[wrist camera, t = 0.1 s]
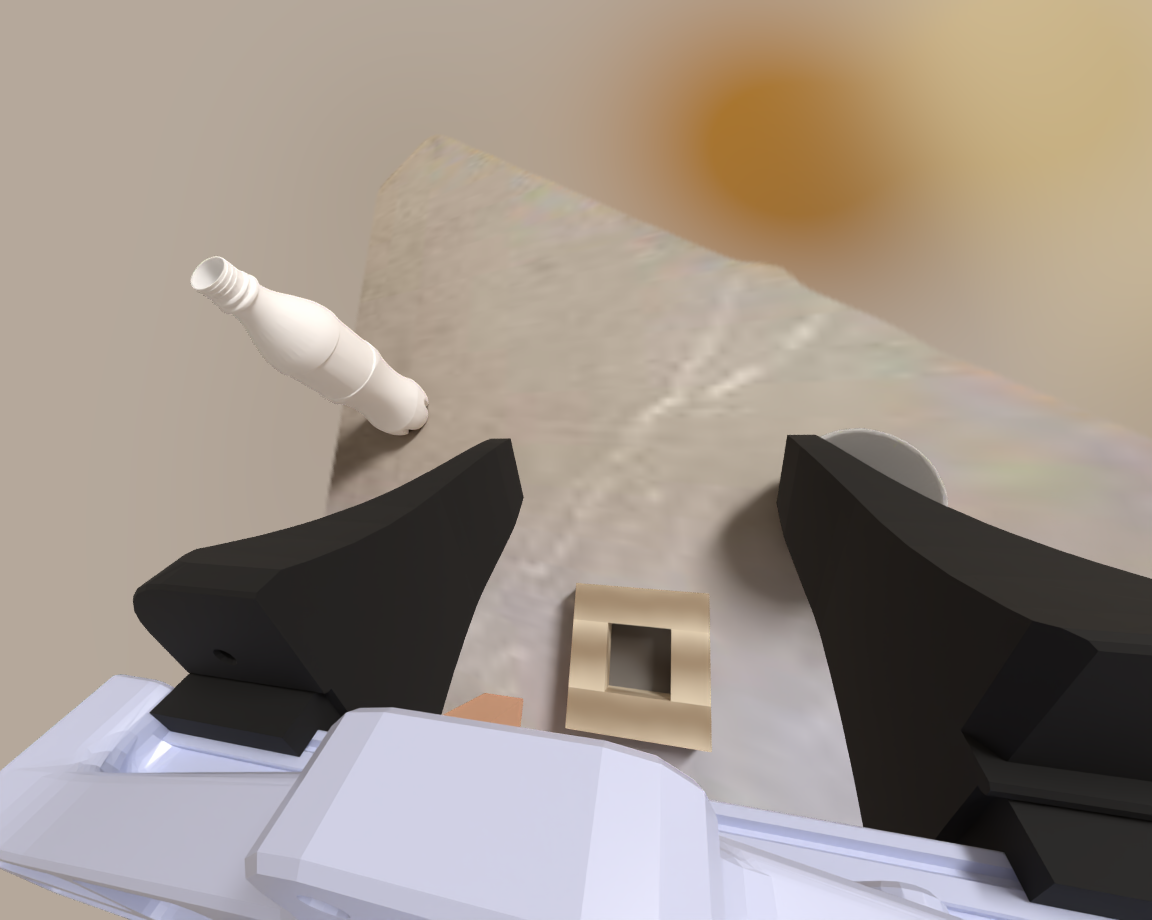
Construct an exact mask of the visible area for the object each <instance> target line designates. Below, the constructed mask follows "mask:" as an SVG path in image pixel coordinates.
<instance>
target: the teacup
mask: <svg viewBox="0 0 1152 920" xmlns="http://www.w3.org/2000/svg"><path fill="white" fill-rule="evenodd" d="M821 438H823V439H825V440H827V441H828V442H830V443H832V444H833V445H835V446H837V447H839V448H840V449H842V450H844V451H845V452H847V453H849V454H850V455H852V456H854V457H855V458H857V459H859V460H860V461H862V462H864V463H865V464H867V465H869V466H870V467H872V468H874V469H875V470H877V471H879V472H881V473H883V474H884V475H886V476H888V477H890V478H891V479H893V480H895V481H897V482H899V483H901V484H903V485H904V486H906V487H908V488H910V489H912V490H914V491H916V492H918V493H920V494H922V495H924V496H926V497H928V498H930V499H932V500H934V501H936V502H938V503H940V504H943V505H945V506H947V507H948V500H947V493H946V490H945V486H944V484H943V481H942V479H941V477H940V476H939V474H938V472H937V470H936V468H935V467H934V466H933V464H932V463H931V462H930V461H929V460H928V459H927V458H926V457H925V456H924V455H923V454H922V453H921V452H920V451H919V450H918V449H916V448H915V447H913V446H912V445H910V444H909V443H907V442H906V441H904V440H902V439H900V438H898V437H895V436H893V435H891V434H888V433H885V432H881V431H877V430H871V429H864V428H855V429H844V430H839V431H834V432H831V433H828V434H825V435H823V436H821Z"/></svg>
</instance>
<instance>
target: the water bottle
mask: <svg viewBox="0 0 1152 920" xmlns="http://www.w3.org/2000/svg"><path fill="white" fill-rule="evenodd" d="M191 285H192V287H193V288H194V289H196V290H197V291H198V292H199V293H201V294H203V295H204V296H206V297H207V298H208V299H210V300H212V301H213V303H214V304H215V305H216V306H218V308H219V309H220V310H221V311H222V312H224V313H226V314H233V316H235V317H236V318H237V319H238V320H239V321H240V323H241V324H242V325H243V326H244V328H245V329H246V331H247V333H248V335H249V336H250V338H251V340H252V342H253V343H254V345H255V346H256V348H257V349H258V351H259V353H260V354H261V355H262V357H263V358H264V359H265V360H266V361H267V362H268V363H269V364H270V365H271V366H272V367H273V368H274V369H276V370H277V371H279V372H280V373H282V374H284V375H288V376H290V377H292V378H293V379H295V380H297V381H299V382H301V383H302V384H304V385H305V386H307V387H309V388H311V389H313V390H314V391H316V392H318V393H319V394H320V395H321V396H322V397H323V398H325V399H327V400H329V401H330V402H332V403H335V404H342V405H346V406H349V407H352V408H354V409H355V410H357V411H358V412H360V413H361V414H362V415H364V416H365V417H366V418H367V420H368V421H369V422H370V423H371V424H372V425H373V426H374V427H376V428H377V429H379V430H381V431H383V432H386V433H389V434H393V435H406V434H408V433H409V429H411V430H416V429H419V428H420V427H422V426H423V425H424V424H425V423H426V421H427V417H428V411H427V408H426V406H428V405H429V404H428V398H427V396H426V394H425V392H424V391H423V389H422V388H421V387H420V386H419V385H418V384H417V383H416V382H415V381H414V380H412V379H410V378H406V377H404V376H402V375H400V374H399V373H397V372H396V371H394V370H393V369H392V368H391V367H390V366H389V365H388V364H387V363H386V362H385V360H384V359H383V358H382V356H381V355H380V354H379V352H378V351H377V349H376V348H374V347H373V346H372V345H371V344H370V343H368V342H367V341H365V340H363V339H362V338H361V337H359V336H358V335H357V334H356V333H355V332H353V331H352V330H351V329H350V328H349V327H347V326H346V325H345V324H344V323H342V322H341V321H340V320H339V319H338V318H337V317H336V315H335V314H334V313H333V312H331V311H330V310H329V309H327V308H326V307H324V306H322V305H320V304H318V303H316V302H314V301H311V300H308V299H304V298H300V297H296V296H293V295H288V294H284V293H278V292H275V291H272V290H269V289H267V288H265V287H263V286H261V285H259V283H258V281H257V279H256V278H255V277H253V276H252V275H249V274H246V273H245V272H243V271H240V270H238V269H237V268H236V267H234V266H233V265H232V264H231V263H229V262H227V261H226V260H225V259H224V258H222V257H219V256H216V257H211V258H208V259H206V260H205V261H203V262H202V263H201V264H199V266H198V267H197V268H196V269H195V271H194V273H193V274H192V277H191Z"/></svg>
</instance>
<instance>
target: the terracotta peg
mask: <svg viewBox="0 0 1152 920" xmlns="http://www.w3.org/2000/svg"><path fill="white" fill-rule="evenodd" d="M522 706H523V699H521V698H514V697H508V696H501V695H494V694H488V693H484V694H482V695H480V696H478V697H476V698H474V699H473V700H471V701H469V702H467V703H465V704H463V705H461V706H459V707H457V708H455V709H453V710H451V711H450V712H448V713H446V714H444V715H445V716H451V717H458V718H464V719H471V720H477V721H483V722H490V723H496V724H503V725H509V726H515V727H520V726H521V716H522Z"/></svg>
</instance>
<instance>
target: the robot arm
mask: <svg viewBox="0 0 1152 920" xmlns="http://www.w3.org/2000/svg"><path fill="white" fill-rule="evenodd" d="M523 498H524V497H523V493H522V488H521V484H520V479H519V475H518V470H517V466H516V461H515V457H514V452H513V448H512V443H511V439H489V440H486V441H484V442H482V443H480V444H478V445H476V446H474V447H472V448H470V449H468V450H467V451H465V452H463V453H461V454H459V455H458V456H456V457H454V458H452V459H451V460H449V461H447V462H445V463H444V464H442V465H440V466H438V467H437V468H435V469H433V470H431V471H429V472H427V473H425V474H423V475H422V476H420V477H418V478H416V479H414V480H412V481H410V482H408V483H406V484H404V485H402V486H400V487H398V488H396V489H394V490H392V491H390V492H388V493H385V494H383V495H381V496H379V497H376V498H374V499H371V500H369V501H367V502H364V503H362V504H359V505H357V506H354V507H351V508H348V509H346V510H343V511H340V512H337V513H334V514H331V515H329V516H326V517H323V518H320V519H317V520H314V521H311V522H307V523H304V524H301V525H297V526H294V527H290V528H287V529H283V530H279V531H276V532H272V533H268V534H264V535H260V536H256V537H252V538H247V539H242V540H238V541H233V542H229V543H224V544H220V545H215V546H210V547H205V548H200V549H196V550H193V551H191V552H189V553H187V554H185V555H184V556H182V557H181V558H179V559H178V560H177V561H175V562H174V563H172V564H171V565H170V566H168V567H167V568H165V569H164V570H163V571H161V572H160V573H158V574H157V575H156V576H154V577H153V578H151V579H150V580H149V581H147V582H146V583H144V584H143V585H142V586H141V587H139V588H138V589H137V590H136V592H135V594H134V596H133V605H134V611H135V613H136V615H137V617H138V618H139V620H140V622H141V623H142V624H143V625H144V627H145V628H146V629H147V630H148V631H149V633H150V634H151V635H152V636H153V637H154V638H155V639H156V640H157V641H158V642H159V643H160V644H161V645H162V646H163V647H164V648H165V649H166V650H167V651H168V652H169V653H170V654H171V655H172V656H173V657H174V658H175V659H176V660H177V661H178V662H179V663H180V664H181V666H182V667H184V669H185V670H187V672H189V673H190V674H189V675H188V676H186V678H184V679H183V680H182V681H181V683H179V684H178V685H177V686H176V687H175V688H174V687H172V686H170V685H168V684H166V683H164V682H162V681H158V680H154V679H148V678H141V677H135V676H129V675H122V674H120V675H114V676H112V677H111V678H110V679H109V680H108V681H107V682H105V683H104V684H103V685H102V686H101V687H99V688H98V689H97V690H96V691H95V692H94V693H92V694H91V695H90V696H89V697H88V698H86V699H85V700H84V701H83V702H82V703H80V704H79V705H78V706H77V707H76V708H74V709H73V710H72V711H71V712H70V713H68V714H67V715H66V716H65V717H64V718H63V719H61V720H60V721H59V722H58V723H57V724H55V725H54V726H53V727H52V728H51V729H49V730H48V731H47V732H46V733H45V734H43V735H42V736H41V737H40V738H39V739H37V740H36V741H35V742H34V743H33V744H32V745H30V746H29V747H28V748H27V749H26V750H24V751H23V752H22V753H21V754H20V755H18V756H17V757H16V758H15V759H14V760H13V761H11V762H10V763H9V764H8V765H7V766H6V767H4V768H3V769H2V770H1V771H0V869H2V870H4V871H7V872H9V873H11V874H13V875H16V876H18V877H20V878H22V879H25V880H27V881H29V882H31V883H34V884H36V885H38V886H40V887H43V888H45V889H47V890H49V891H52V892H54V893H56V894H59V895H62V896H65V897H68V898H71V899H73V900H77V901H79V902H82V903H85V904H88V905H91V906H93V907H96V908H99V909H102V910H104V911H107V912H110V913H113V914H115V915H118V916H121V917H124V918H127V919H129V920H1152V579H1150V578H1147V577H1143V576H1140V575H1137V574H1133V573H1130V572H1127V571H1123V570H1120V569H1117V568H1113V567H1110V566H1106V565H1103V564H1100V563H1096V562H1093V561H1090V560H1087V559H1084V558H1081V557H1078V556H1075V555H1072V554H1069V553H1066V552H1063V551H1060V550H1057V549H1054V548H1051V547H1048V546H1045V545H1043V544H1040V543H1037V542H1034V541H1032V540H1029V539H1026V538H1023V537H1020V536H1018V535H1015V534H1012V533H1009V532H1007V531H1004V530H1002V529H999V528H997V527H994V526H991V525H989V524H986V523H984V522H982V521H979V520H977V519H975V518H972V517H970V516H968V515H965V514H963V513H961V512H958V511H956V510H954V509H951V508H949V507H947V506H945V505H943V504H940V503H938V502H936V501H934V500H932V499H930V498H928V497H926V496H924V495H922V494H920V493H918V492H916V491H914V490H912V489H910V488H908V487H906V486H904V485H903V484H901V483H899V482H897V481H895V480H893V479H891V478H890V477H888V476H886V475H884V474H883V473H881V472H879V471H877V470H875V469H874V468H872V467H870V466H869V465H867V464H865V463H864V462H862V461H860V460H859V459H857V458H855V457H854V456H852V455H850V454H849V453H847V452H845V451H844V450H842V449H840V448H839V447H837V446H835V445H833V444H832V443H830V442H828V441H827V440H825V439H823V438H821V437H819V436H817V435H787V441H786V447H785V453H784V460H783V466H782V472H781V479H780V485H779V491H778V498H777V507H778V512H779V517H780V522H781V526H782V531H783V535H784V538H785V541H786V544H787V547H788V549H789V552H790V555H791V557H792V560H793V563H794V565H795V568H796V570H797V573H798V575H799V578H800V581H801V583H802V586H803V588H804V591H805V594H806V596H807V599H808V601H809V604H810V606H811V609H812V612H813V614H814V617H815V620H816V623H817V626H818V629H819V632H820V636H821V640H822V643H823V647H824V651H825V655H826V659H827V663H828V667H829V670H830V674H831V678H832V683H833V687H834V691H835V695H836V699H837V704H838V708H839V712H840V716H841V720H842V725H843V730H844V734H845V739H846V743H847V748H848V753H849V757H850V762H851V767H852V771H853V776H854V781H855V786H856V791H857V797H858V802H859V807H860V812H861V817H862V823H863V827H859V826H854V825H848V824H843V823H837V822H831V821H826V820H820V819H815V818H809V817H803V816H798V815H792V814H787V813H781V812H775V811H770V810H764V809H759V808H753V807H747V806H742V805H736V804H731V803H725V802H719V801H714V800H708V797H707V795H706V793H705V791H704V790H703V789H702V788H701V787H700V786H699V785H698V783H697V782H696V781H695V780H694V779H693V778H691V777H689V776H688V775H686V774H685V773H683V772H682V771H680V770H679V769H677V768H675V767H674V766H672V765H671V764H669V763H668V762H666V761H664V760H663V759H661V758H660V757H658V756H657V755H654V754H650V753H647V752H643V751H640V750H636V749H633V748H629V747H626V746H622V745H619V744H616V743H612V742H609V741H605V740H599V739H592V738H586V737H580V736H573V735H567V734H560V733H554V732H547V731H541V730H535V729H528V728H522V727H515V726H509V725H503V724H496V723H490V722H483V721H477V720H471V719H464V718H458V717H451V716H445V715H441V714H442V710H443V707H444V704H445V700H446V697H447V693H448V690H449V687H450V683H451V680H452V677H453V673H454V670H455V667H456V664H457V661H458V658H459V655H460V652H461V649H462V646H463V643H464V640H465V637H466V634H467V631H468V628H469V626H470V623H471V620H472V617H473V615H474V612H475V609H476V606H477V604H478V601H479V599H480V597H481V595H482V592H483V590H484V588H485V586H486V584H487V582H488V580H489V578H490V576H491V574H492V572H493V570H494V568H495V566H496V564H497V562H498V560H499V558H500V556H501V554H502V552H503V550H504V547H505V545H506V543H507V541H508V539H509V537H510V535H511V533H512V531H513V529H514V526H515V524H516V521H517V518H518V515H519V511H520V508H521V505H522V501H523Z"/></svg>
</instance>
